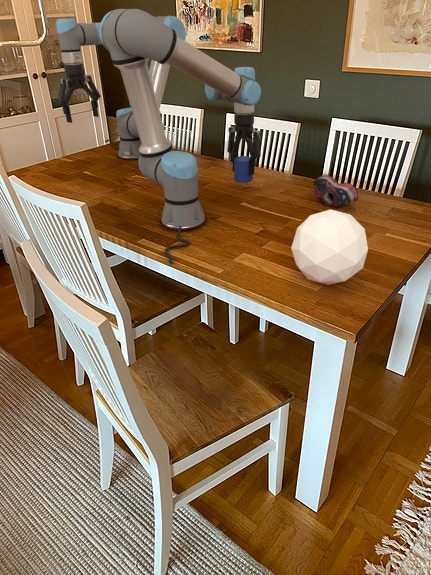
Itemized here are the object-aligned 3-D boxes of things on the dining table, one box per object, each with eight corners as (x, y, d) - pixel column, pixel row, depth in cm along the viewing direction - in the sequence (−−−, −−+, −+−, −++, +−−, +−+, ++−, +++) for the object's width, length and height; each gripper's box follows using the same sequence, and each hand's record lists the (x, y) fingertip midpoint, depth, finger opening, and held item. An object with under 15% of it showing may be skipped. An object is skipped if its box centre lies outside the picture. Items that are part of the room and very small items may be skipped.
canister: (230, 180, 180) (230, 159, 175) (241, 175, 185) (242, 154, 180) (245, 184, 176) (245, 162, 171) (256, 179, 180) (256, 158, 176)
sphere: (335, 308, 121) (353, 282, 102) (274, 269, 126) (281, 237, 107) (370, 256, 126) (393, 222, 107) (310, 220, 131) (322, 182, 112)
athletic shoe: (322, 174, 175) (297, 182, 171) (360, 169, 156) (333, 177, 152) (327, 202, 178) (303, 210, 174) (365, 200, 158) (339, 209, 155)
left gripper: (51, 67, 167) (63, 126, 178) (103, 61, 183) (111, 114, 194) (40, 66, 171) (52, 123, 182) (92, 60, 187) (100, 113, 198)
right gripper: (272, 114, 163) (269, 175, 175) (229, 108, 174) (229, 165, 186) (260, 117, 158) (258, 180, 170) (217, 111, 170) (218, 170, 182)
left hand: (83, 119), depth 188 cm, fingers open, 13 cm apart
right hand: (243, 172), depth 178 cm, fingers closed on canister, 7 cm apart
